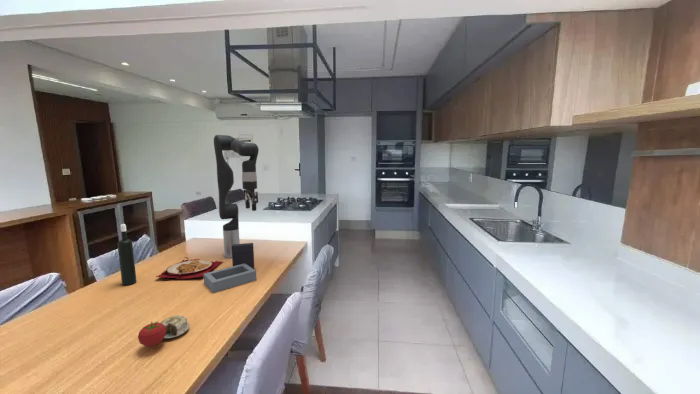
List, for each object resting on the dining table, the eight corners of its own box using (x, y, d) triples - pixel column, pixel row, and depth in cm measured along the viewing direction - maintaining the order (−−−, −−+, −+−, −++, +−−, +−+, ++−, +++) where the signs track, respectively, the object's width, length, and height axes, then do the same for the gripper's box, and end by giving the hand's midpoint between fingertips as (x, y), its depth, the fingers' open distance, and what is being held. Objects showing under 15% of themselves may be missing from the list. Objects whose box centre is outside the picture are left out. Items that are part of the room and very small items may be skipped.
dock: (204, 283, 144) (203, 273, 143) (245, 272, 158) (244, 263, 157) (213, 292, 134) (212, 282, 133) (256, 280, 148) (256, 270, 147)
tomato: (172, 336, 101) (170, 315, 100) (157, 350, 94) (155, 329, 93) (149, 336, 101) (147, 316, 100) (133, 351, 94) (130, 329, 93)
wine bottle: (128, 285, 141) (122, 225, 137) (119, 284, 142) (112, 225, 138) (139, 280, 147) (133, 223, 143) (130, 279, 148) (123, 222, 144)
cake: (164, 324, 109) (163, 311, 108) (193, 321, 111) (192, 308, 110) (152, 340, 99) (150, 326, 98) (183, 337, 101) (182, 323, 100)
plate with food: (155, 280, 147) (154, 273, 147) (183, 262, 173) (183, 256, 172) (201, 279, 147) (200, 273, 147) (223, 261, 173) (222, 256, 172)
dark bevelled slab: (254, 267, 164) (253, 242, 162) (254, 270, 160) (252, 244, 158) (233, 269, 161) (232, 243, 159) (232, 272, 157) (231, 246, 155)
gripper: (237, 179, 160) (239, 208, 162) (248, 181, 149) (249, 212, 152) (250, 179, 165) (252, 206, 167) (261, 180, 154) (263, 210, 157)
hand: (251, 209), depth 159 cm, fingers open, 8 cm apart
